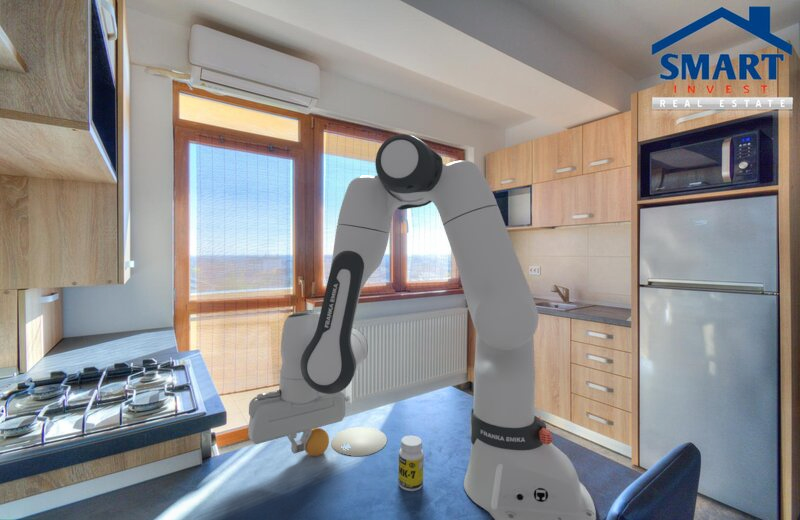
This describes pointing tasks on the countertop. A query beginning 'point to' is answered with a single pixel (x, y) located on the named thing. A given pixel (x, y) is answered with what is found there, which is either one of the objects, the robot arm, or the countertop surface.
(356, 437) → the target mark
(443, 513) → the countertop surface
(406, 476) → the supplement bottle
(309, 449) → the ball
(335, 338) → the robot arm
